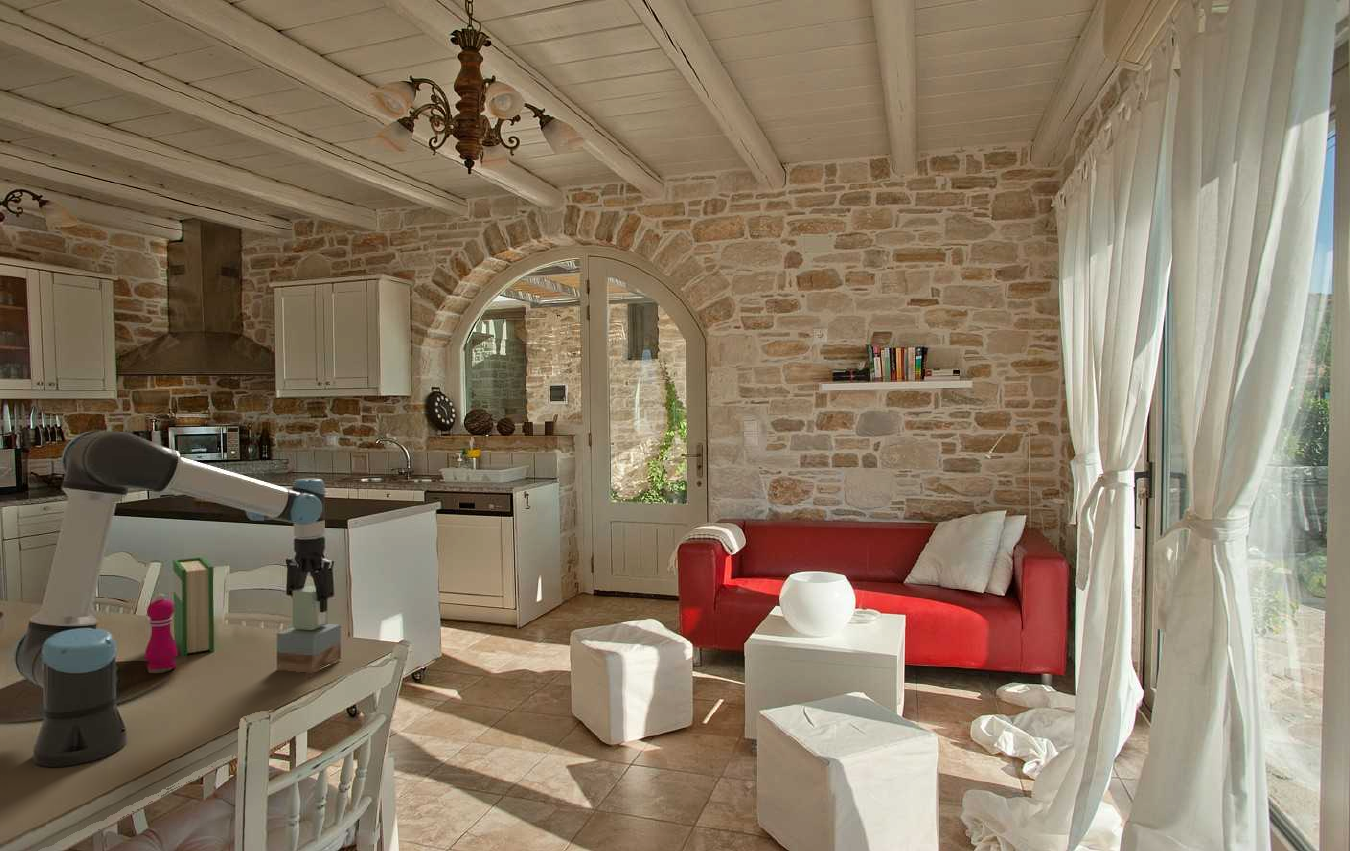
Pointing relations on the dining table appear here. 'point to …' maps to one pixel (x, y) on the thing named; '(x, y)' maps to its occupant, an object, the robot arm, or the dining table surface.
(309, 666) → the tower bottom block
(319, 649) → the tower top block
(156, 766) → the dining table surface
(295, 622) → the sage block
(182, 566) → the hardback book
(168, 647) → the pepper mill
